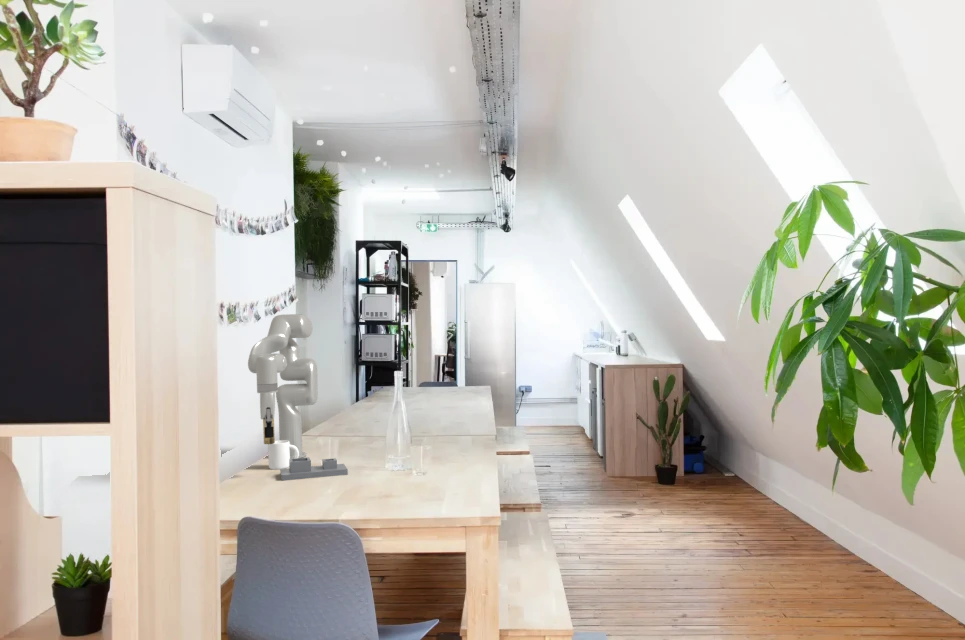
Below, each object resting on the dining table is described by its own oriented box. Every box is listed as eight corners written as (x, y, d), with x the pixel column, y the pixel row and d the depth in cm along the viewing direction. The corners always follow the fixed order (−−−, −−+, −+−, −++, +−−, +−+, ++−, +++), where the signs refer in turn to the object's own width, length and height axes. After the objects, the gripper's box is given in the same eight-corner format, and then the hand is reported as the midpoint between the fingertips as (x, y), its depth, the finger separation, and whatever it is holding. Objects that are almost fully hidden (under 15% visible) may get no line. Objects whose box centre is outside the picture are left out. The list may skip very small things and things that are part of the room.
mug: (301, 464, 297) (300, 439, 297) (297, 468, 288) (296, 442, 289) (271, 466, 296) (270, 440, 296) (266, 470, 288) (265, 444, 288)
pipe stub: (263, 442, 276) (262, 411, 276) (274, 441, 278) (273, 410, 277) (263, 444, 273) (262, 412, 272) (275, 443, 274) (273, 412, 273)
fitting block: (280, 474, 278) (280, 458, 278) (343, 468, 286) (343, 453, 286) (281, 480, 267) (281, 464, 267) (347, 474, 274) (347, 458, 274)
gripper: (256, 386, 281) (258, 433, 282) (257, 391, 265) (259, 441, 266) (276, 385, 284) (278, 432, 284) (278, 390, 268) (280, 439, 268)
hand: (269, 435), depth 275 cm, fingers closed on pipe stub, 4 cm apart
